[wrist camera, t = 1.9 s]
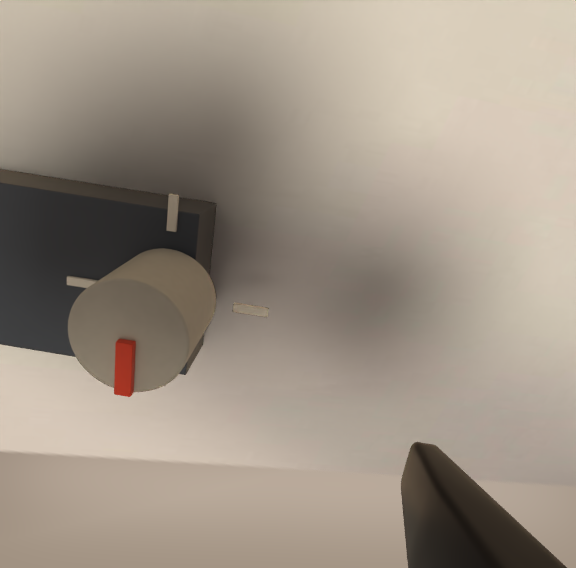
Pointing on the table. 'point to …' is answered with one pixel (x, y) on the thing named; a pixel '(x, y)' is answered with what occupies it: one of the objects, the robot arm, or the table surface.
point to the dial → (142, 320)
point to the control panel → (83, 249)
